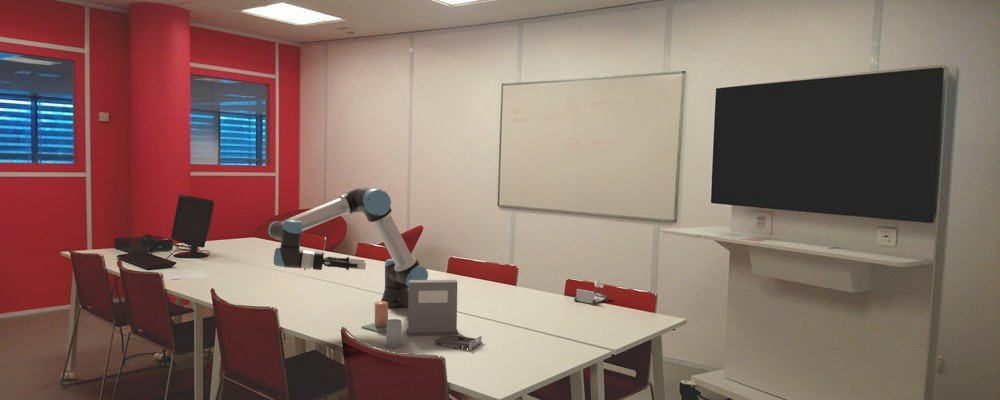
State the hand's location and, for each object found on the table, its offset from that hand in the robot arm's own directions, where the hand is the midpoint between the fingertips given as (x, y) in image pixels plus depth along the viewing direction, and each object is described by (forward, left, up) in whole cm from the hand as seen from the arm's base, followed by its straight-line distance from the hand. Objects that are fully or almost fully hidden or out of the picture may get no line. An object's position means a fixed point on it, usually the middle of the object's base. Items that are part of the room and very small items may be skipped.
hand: (364, 264), depth 259 cm
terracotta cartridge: (+6, +4, -26) cm, 27 cm away
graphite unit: (+28, +12, -27) cm, 41 cm away
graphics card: (+46, +8, -28) cm, 54 cm away
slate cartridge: (+29, -11, -27) cm, 41 cm away
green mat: (+6, +4, -27) cm, 28 cm away
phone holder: (+52, +111, -28) cm, 125 cm away
